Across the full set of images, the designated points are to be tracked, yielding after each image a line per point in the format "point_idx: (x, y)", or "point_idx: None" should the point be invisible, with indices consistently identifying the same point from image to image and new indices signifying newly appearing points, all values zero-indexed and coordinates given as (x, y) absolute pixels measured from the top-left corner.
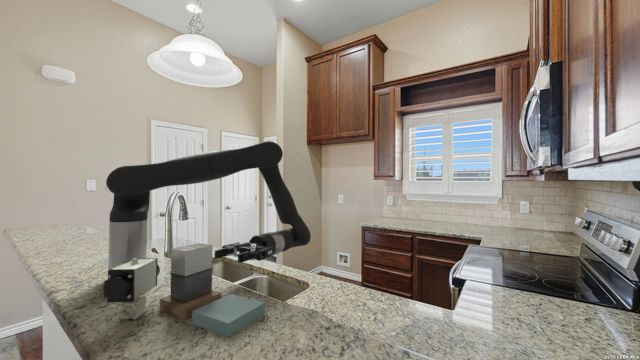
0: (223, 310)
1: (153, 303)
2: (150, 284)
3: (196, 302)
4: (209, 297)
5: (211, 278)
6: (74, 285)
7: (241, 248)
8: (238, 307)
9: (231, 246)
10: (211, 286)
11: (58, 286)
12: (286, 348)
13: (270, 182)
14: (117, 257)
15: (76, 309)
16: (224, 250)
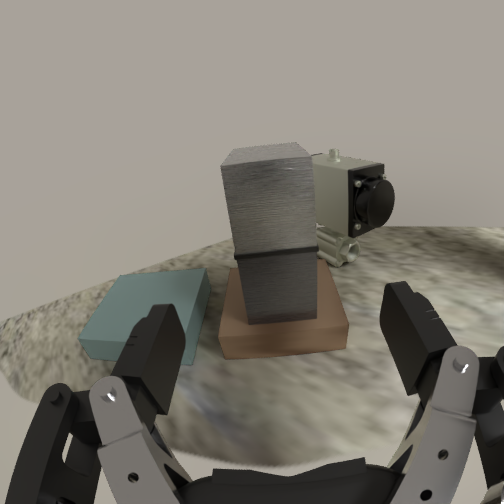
0: (148, 290)
1: (375, 283)
2: (332, 217)
3: (230, 283)
4: (224, 307)
5: (242, 286)
6: None
7: (337, 467)
8: (124, 307)
9: (457, 397)
10: (246, 309)
11: None
12: (54, 306)
13: None
14: None
15: (425, 231)
16: (412, 340)
